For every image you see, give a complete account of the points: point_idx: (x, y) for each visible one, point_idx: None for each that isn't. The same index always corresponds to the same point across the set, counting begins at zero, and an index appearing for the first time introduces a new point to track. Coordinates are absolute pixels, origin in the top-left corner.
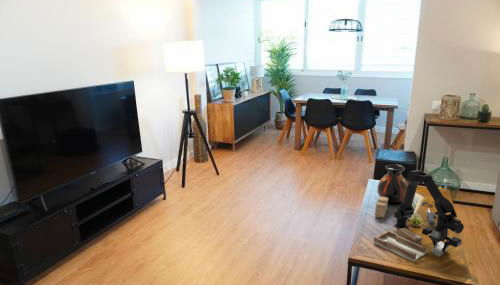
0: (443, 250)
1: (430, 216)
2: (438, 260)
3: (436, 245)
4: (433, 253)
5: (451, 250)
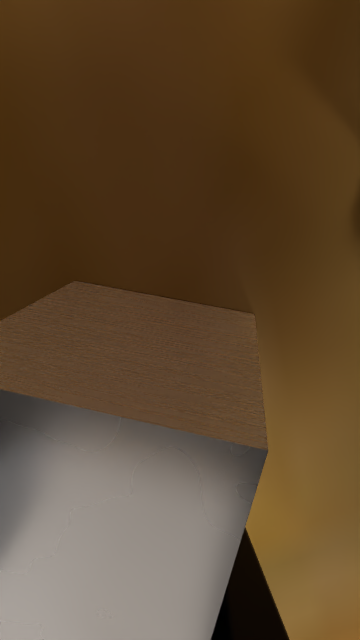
0: None
1: None
2: (27, 56)
3: (167, 616)
4: (218, 314)
5: None
